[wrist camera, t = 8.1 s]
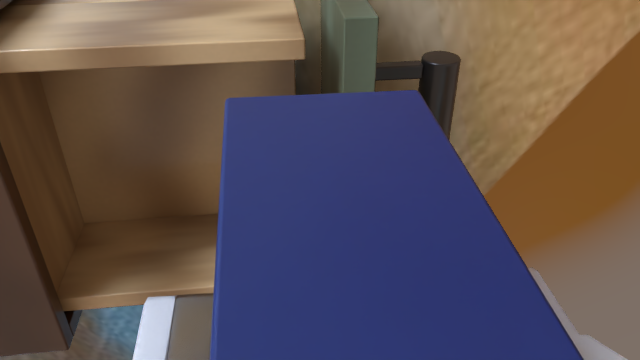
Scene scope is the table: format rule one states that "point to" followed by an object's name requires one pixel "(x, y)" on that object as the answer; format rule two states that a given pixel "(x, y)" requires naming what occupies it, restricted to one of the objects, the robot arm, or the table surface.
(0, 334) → the cabinet
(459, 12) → the table surface
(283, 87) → the drawer
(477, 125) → the table surface
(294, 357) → the navy box
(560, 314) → the robot arm
